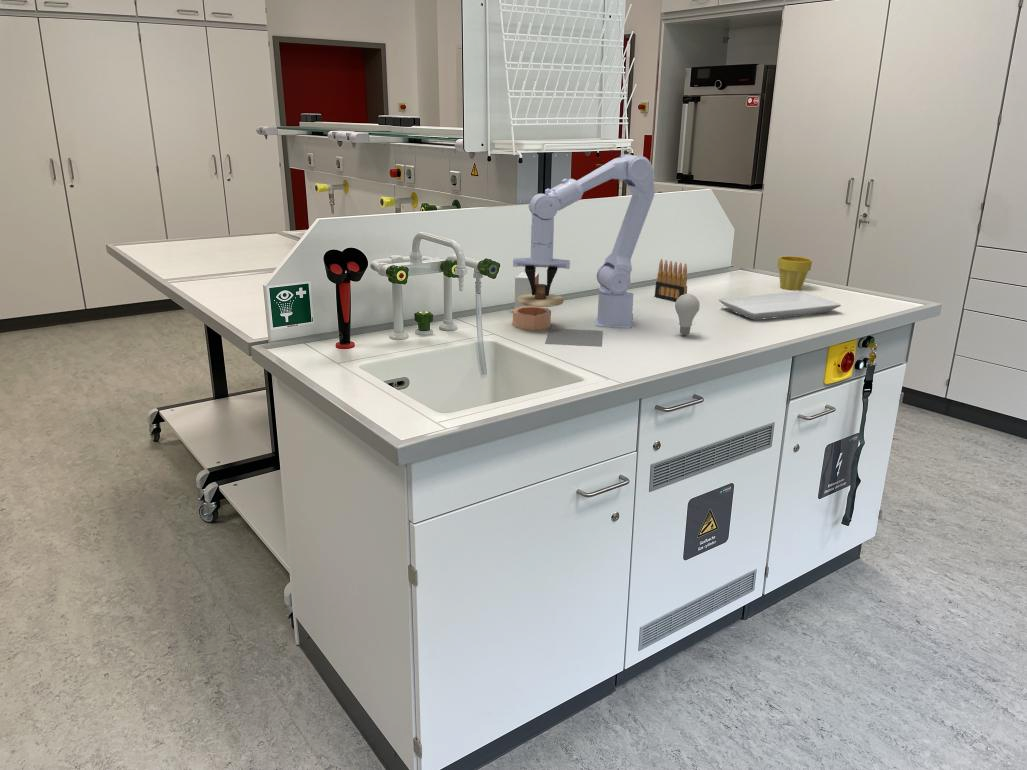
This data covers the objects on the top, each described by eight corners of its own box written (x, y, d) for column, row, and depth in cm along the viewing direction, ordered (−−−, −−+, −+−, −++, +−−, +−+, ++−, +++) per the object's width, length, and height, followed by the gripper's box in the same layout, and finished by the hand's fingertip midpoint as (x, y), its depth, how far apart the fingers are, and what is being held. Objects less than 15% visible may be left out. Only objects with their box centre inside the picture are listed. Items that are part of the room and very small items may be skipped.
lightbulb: (682, 340, 192) (686, 297, 189) (667, 334, 197) (671, 292, 194) (701, 337, 195) (705, 295, 191) (686, 331, 200) (689, 290, 196)
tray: (841, 315, 220) (843, 303, 218) (751, 324, 209) (753, 312, 208) (801, 301, 234) (802, 290, 233) (715, 309, 223) (716, 298, 222)
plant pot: (812, 287, 251) (816, 258, 248) (801, 293, 244) (806, 262, 240) (781, 283, 257) (785, 254, 254) (770, 288, 250) (773, 258, 246)
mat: (602, 331, 199) (602, 330, 198) (602, 347, 186) (602, 346, 185) (549, 329, 200) (549, 328, 200) (544, 344, 187) (544, 343, 187)
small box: (533, 315, 214) (534, 278, 210) (514, 314, 215) (514, 277, 211) (538, 308, 221) (539, 272, 217) (519, 307, 222) (520, 271, 218)
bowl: (551, 321, 208) (552, 307, 206) (548, 331, 198) (549, 316, 197) (515, 319, 209) (515, 305, 207) (510, 329, 199) (511, 314, 198)
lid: (571, 299, 201) (571, 283, 199) (550, 309, 191) (550, 292, 189) (531, 294, 206) (531, 278, 205) (509, 302, 196) (509, 286, 195)
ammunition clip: (686, 302, 230) (690, 263, 226) (682, 303, 228) (686, 264, 224) (657, 296, 237) (660, 258, 233) (654, 297, 236) (657, 258, 232)
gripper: (571, 241, 197) (569, 292, 201) (515, 239, 198) (514, 290, 203) (570, 245, 190) (567, 298, 195) (512, 243, 191) (511, 296, 196)
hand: (540, 294), depth 198 cm, fingers closed on lid, 3 cm apart
